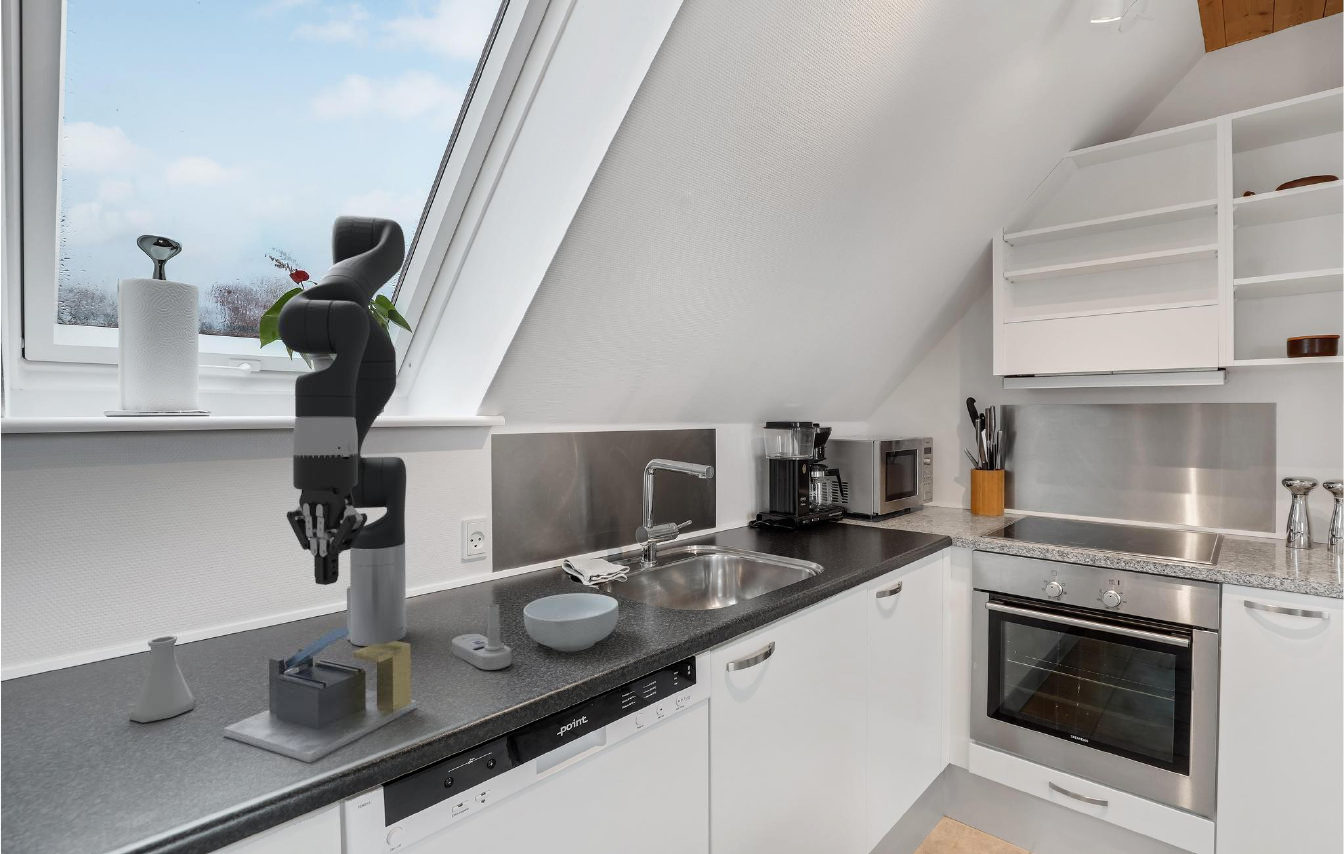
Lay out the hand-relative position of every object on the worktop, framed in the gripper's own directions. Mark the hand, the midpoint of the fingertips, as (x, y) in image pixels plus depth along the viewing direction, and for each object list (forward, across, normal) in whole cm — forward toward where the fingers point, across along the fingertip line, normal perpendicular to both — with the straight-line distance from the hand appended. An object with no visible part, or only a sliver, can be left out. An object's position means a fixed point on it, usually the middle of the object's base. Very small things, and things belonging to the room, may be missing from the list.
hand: (326, 583), depth 86 cm
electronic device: (+19, +2, +27) cm, 33 cm away
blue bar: (+10, -2, 0) cm, 10 cm away
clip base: (+18, -1, 0) cm, 18 cm away
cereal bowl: (+18, +12, +39) cm, 45 cm away
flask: (+18, -24, -7) cm, 31 cm away
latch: (+17, +5, +4) cm, 19 cm away
